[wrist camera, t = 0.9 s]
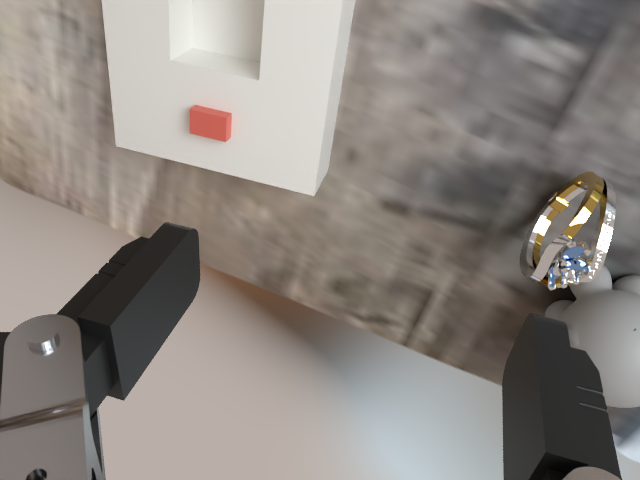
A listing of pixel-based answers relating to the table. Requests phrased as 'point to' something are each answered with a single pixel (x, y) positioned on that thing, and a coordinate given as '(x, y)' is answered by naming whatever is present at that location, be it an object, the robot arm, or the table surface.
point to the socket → (230, 83)
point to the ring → (570, 235)
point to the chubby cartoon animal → (607, 332)
